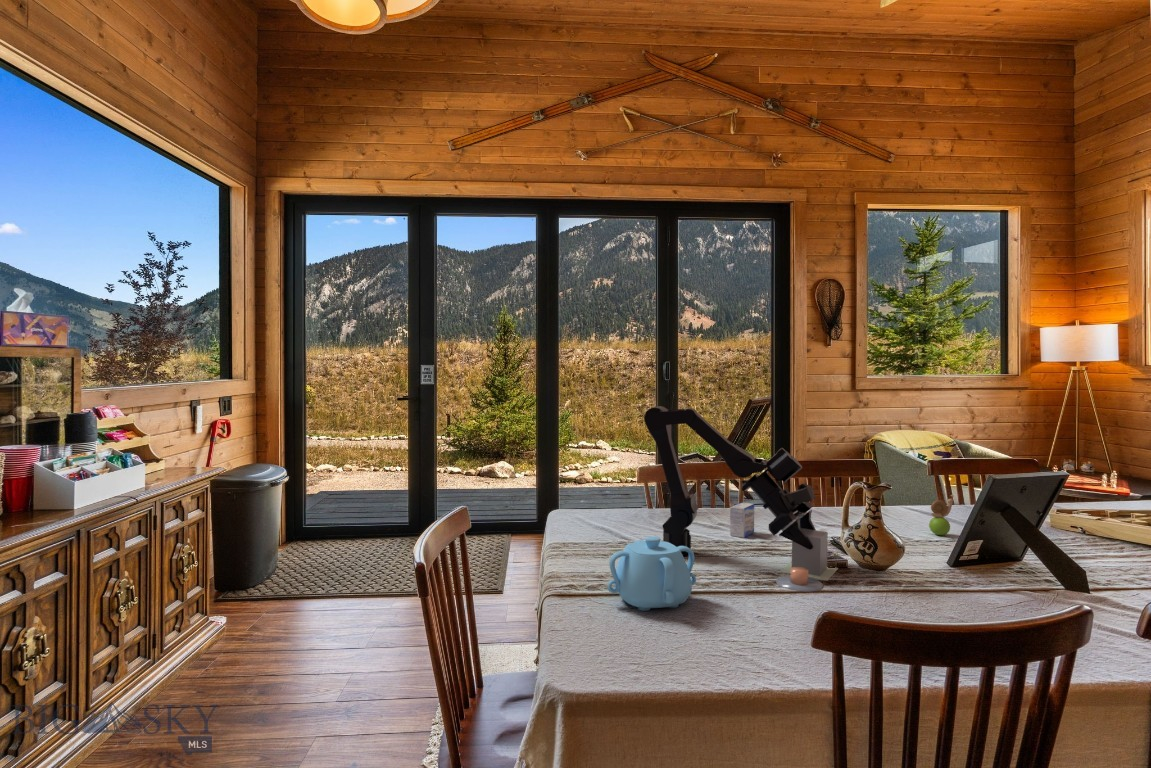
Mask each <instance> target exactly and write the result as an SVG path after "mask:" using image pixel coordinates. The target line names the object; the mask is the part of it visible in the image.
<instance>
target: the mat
mask: <svg viewBox="0 0 1151 768" xmlns="http://www.w3.org/2000/svg"><path fill="white" fill-rule="evenodd" d="M791 568H792V560H791V561H790V562H789V563H787V565H785V566H784V567H783V568H782V569H780V570H779V572H780V573H785V574H790V575H791ZM837 570H839V567H835V568H828V567H827V569H826V570H825V571H824V572H823V573H822V574H821V575H820V576H817V575H812V574H808V577H809V578H813V579H815V580H822V581H827V582H828V581H829V580H830V578H832V576H833V575H834V574H835V573H836V571H837Z"/></svg>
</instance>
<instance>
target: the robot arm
mask: <svg viewBox="0 0 1151 768" xmlns="http://www.w3.org/2000/svg"><path fill="white" fill-rule="evenodd" d="M643 420H644V424H645V426H646V428H647V430H648V432H649V434H650V435H651V437H652V439H653V440H654V442H655V444H656V448H657V451H658V454H659V455H658V456H659V458H660V462H661V466H662V469H663V474H664V476H665V480H666V483H667V489H668V492H669V511H670V516H669V517H668V518H667V519H666V520H665V522H664V523H663V524H662V529H663V531H662V537H663V538H662V539H663V540H662V541H665V542H668V543H671V544H673V545H674V546H676V547H678V546H686V547H688V548H690V549H691V550H692V546H691V545H692V536H691V534H690V533H691V531H690V529H688V527H690V526H691V525H692V523H694V521H695V519H696V517H697V515H698V510H699V508H700V507H699V506H698V505H697V502H696V495H695V493H692V494H689V492H688V491H687V489H686V487H685V482H684V480H683V475H682V472H681V469H680V465H679V461H678V458H677V453H676V450H675V446H674V442H673V438H672V425H687V426H688V427H689V428H690V429H691V430H692V431H694V432H695V433H696V434H697V435H698V436H700V438H701V439H703V440H704V441H705V442H706V443H707V444H708V445H709V446H711V448H713V449H714V451H716V452H717V453H718V454H719V455H720V456H721V458H722V459H723V461H724V463H725V464H726V465H727V466H728V468H729V470H731V472H732V473H733V474H734V475H735V476H736V477H739V478H743V480H741V482H742V483H741V484H742V485H741V491H742V492H746V491H748V490H750V489H751V491H752V492H753V493H754V494H755V495H756V496H757V497H758V499H759V500H760V501H761V502H762V504H763V505H762V507H763V509H765V510H767V509H768V510H769V512H770V513H771V514H772V515H773V517H775V518H774V519H773V520H772V521H771V522H769V523H768V531H769V532H770V533H771V534H772V536H776V535H778V536H779V537H783V538H785V539H787V540H788V541H789V540H790V541H791V542H792V541H793V542H795V543H797V544H799V545H801V546H803V547H805V548H807V549H809V550H811V549H812V548H813V545H812V544H811V542H810V541H809V539H808V538H807V536H806V535H805V533H804V532H803V530H802V529H801V528H804V529H810V530H816V527H815V526H814V523H813V522H812V512H813V510H812V508H813V507H814V506H813V505H812V503H811V501H813V500H814V499H816V495H815V493H814V491H815V489H814V488H813V487H812V485H808V484H807V483H806V482H804V483H801V484H798V486H797V489H796V490H794V491H791V492H790V491H789V490H788V489H786V488H784V489H783V488H781V486H780V485H779V484H778V483H777V482H784V483H786V482H787V481H788V480H789V479H790V478H793V476H794V475H796V474H797V473H798V472H799V471H801V470H802V469H803V466H802V464H801V463H800V462H799V460H797V458H796V457H794V455H792V454H791V453H789V452H788V451H787V450H785V449H784V448H783V447H781V448H780V449H778V451H776V453H775V454H774V455H772V456H771V458H769V459H768V460H767V459H764V458H757V457H755V456H754V455H753V454H752V453H751V452H748V451H747V450H746V449H743V448H742V447H740V446H738V445H737V444H734V443H733V442H731V441H730V440H729V439H727V438H726V437H725V436H724V435H723V434H722V433H721V432H720V431H719V430H717V429H716V428H715V427H714V426H713V425H712V424H710V422H708V421H707V419H705V418H704V417H703V416H702V415H700V413H698V411H697V410H696V409H694V408H693V407H688V408H674V409H673V408H672V409H668V408H666V407H664V406H661V405H658V406H654V407H651V408H649V409H647V410H646V411H645V413H644V416H643ZM758 473H760V474H758ZM771 476H772V477H771ZM749 477H750V478H749ZM744 478H749V479H748V480H746V479H744ZM775 480H776V481H777V482H776V481H775ZM780 531H781V532H780ZM681 553H682V555H683V557H686V556H687V557H688V556H689V554H688V552H686V551H681Z"/></svg>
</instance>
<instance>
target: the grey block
mask: <svg viewBox="0 0 1151 768" xmlns="http://www.w3.org/2000/svg"><path fill="white" fill-rule="evenodd" d="M801 529H802V530H803V532H804V533H805V535H806V536H807V538H808V539H809V541H810V542H811V544H812V545H813V548H812V549H811V550H809V549H807V548H805V547H803V546H801V545H799V544H797V543H795V542H793V541H791V561H792V567H802V568H806V569H808V574H812V575H817V576H820V575H821V574H822V573H823V572H824V571H825V570H826V569H827V566H828V539H829V537H828V536H829V535H828V533H829V532H828V531H823V530H810V529H804V528H801Z"/></svg>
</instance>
